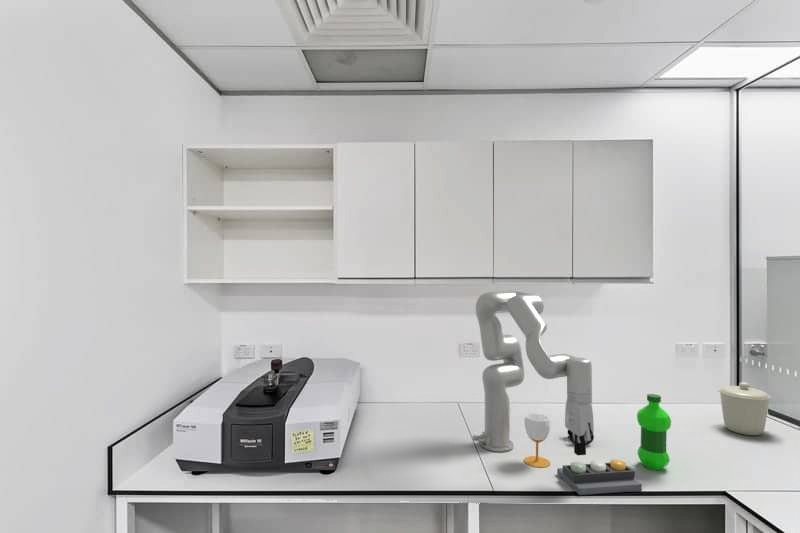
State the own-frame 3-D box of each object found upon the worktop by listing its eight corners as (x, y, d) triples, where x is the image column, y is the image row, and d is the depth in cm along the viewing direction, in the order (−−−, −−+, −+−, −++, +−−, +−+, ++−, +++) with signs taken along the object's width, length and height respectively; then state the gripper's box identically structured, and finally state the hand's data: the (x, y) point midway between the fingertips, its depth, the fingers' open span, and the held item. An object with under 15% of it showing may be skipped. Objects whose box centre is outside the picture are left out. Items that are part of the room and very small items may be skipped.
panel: (579, 495, 141) (579, 480, 141) (557, 474, 154) (557, 461, 154) (641, 490, 144) (641, 476, 144) (614, 470, 158) (614, 457, 158)
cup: (525, 455, 170) (525, 411, 170) (551, 459, 166) (551, 415, 166) (522, 465, 161) (522, 419, 161) (549, 469, 158) (550, 423, 158)
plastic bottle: (653, 475, 154) (654, 401, 154) (629, 462, 165) (630, 392, 164) (677, 471, 157) (678, 398, 157) (652, 458, 167) (653, 390, 167)
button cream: (595, 475, 146) (595, 467, 146) (587, 468, 151) (587, 461, 151) (608, 474, 147) (608, 466, 147) (600, 467, 152) (600, 460, 152)
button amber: (615, 473, 147) (615, 466, 147) (607, 467, 152) (607, 459, 152) (628, 472, 148) (628, 465, 148) (619, 466, 153) (619, 459, 153)
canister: (762, 442, 184) (763, 390, 183) (711, 429, 198) (711, 380, 198) (776, 433, 194) (777, 383, 194) (727, 421, 209) (727, 375, 209)
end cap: (594, 446, 179) (594, 429, 178) (575, 446, 179) (575, 428, 179) (584, 436, 188) (584, 420, 188) (567, 436, 189) (567, 420, 189)
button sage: (575, 476, 145) (575, 468, 145) (567, 469, 150) (567, 462, 150) (588, 475, 146) (588, 467, 146) (580, 469, 151) (580, 461, 151)
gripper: (557, 391, 154) (557, 446, 154) (581, 404, 140) (581, 464, 139) (577, 390, 156) (578, 444, 155) (603, 402, 141) (604, 462, 141)
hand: (580, 454), depth 147 cm, fingers closed
